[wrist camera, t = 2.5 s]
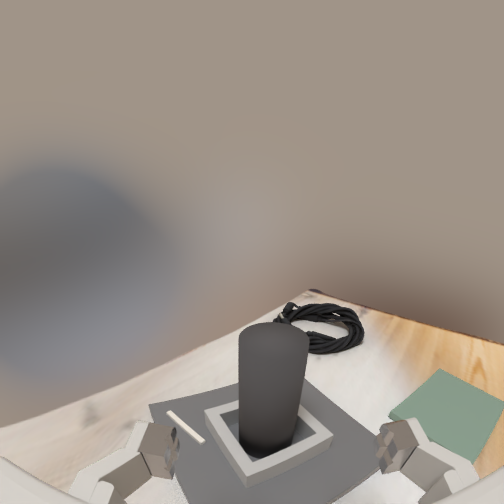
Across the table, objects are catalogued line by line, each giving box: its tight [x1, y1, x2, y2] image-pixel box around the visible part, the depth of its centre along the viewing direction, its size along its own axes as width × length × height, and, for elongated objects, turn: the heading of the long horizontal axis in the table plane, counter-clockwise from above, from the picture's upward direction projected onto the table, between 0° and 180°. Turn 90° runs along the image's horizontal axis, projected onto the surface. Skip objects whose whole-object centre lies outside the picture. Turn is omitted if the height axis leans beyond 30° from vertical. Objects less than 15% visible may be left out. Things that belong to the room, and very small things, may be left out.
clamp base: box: [149, 378, 380, 504], centre depth 24 cm, size 20×20×4 cm
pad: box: [388, 369, 504, 465], centre depth 25 cm, size 14×14×1 cm
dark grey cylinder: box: [239, 322, 310, 459], centre depth 23 cm, size 6×6×13 cm
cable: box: [273, 302, 364, 353], centre depth 49 cm, size 17×14×4 cm
